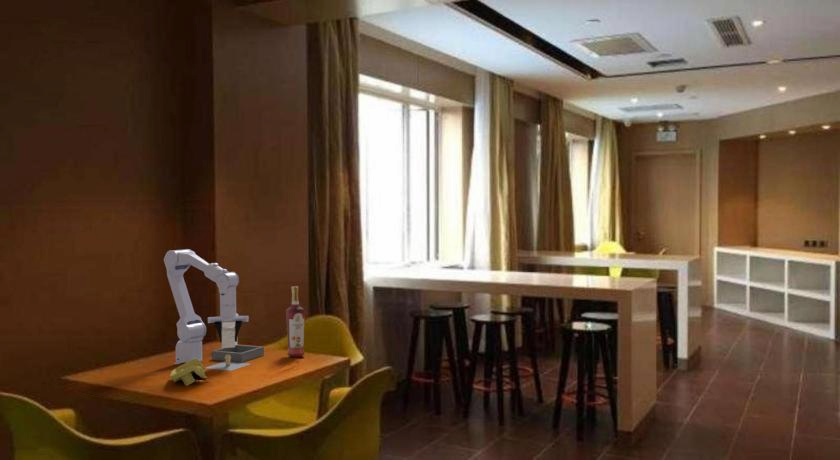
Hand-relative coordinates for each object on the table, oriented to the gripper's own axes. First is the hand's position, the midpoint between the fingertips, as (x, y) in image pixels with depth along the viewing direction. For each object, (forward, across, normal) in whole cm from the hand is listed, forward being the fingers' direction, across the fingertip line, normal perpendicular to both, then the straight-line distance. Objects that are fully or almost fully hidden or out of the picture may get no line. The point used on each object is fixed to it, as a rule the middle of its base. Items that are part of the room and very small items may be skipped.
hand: (228, 341), depth 264 cm
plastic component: (+10, -13, -17) cm, 24 cm away
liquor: (+10, +25, +14) cm, 30 cm away
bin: (+10, +3, +13) cm, 17 cm away
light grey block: (+2, 0, 0) cm, 2 cm away
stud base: (+10, 0, -2) cm, 10 cm away
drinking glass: (+10, -1, +35) cm, 37 cm away
